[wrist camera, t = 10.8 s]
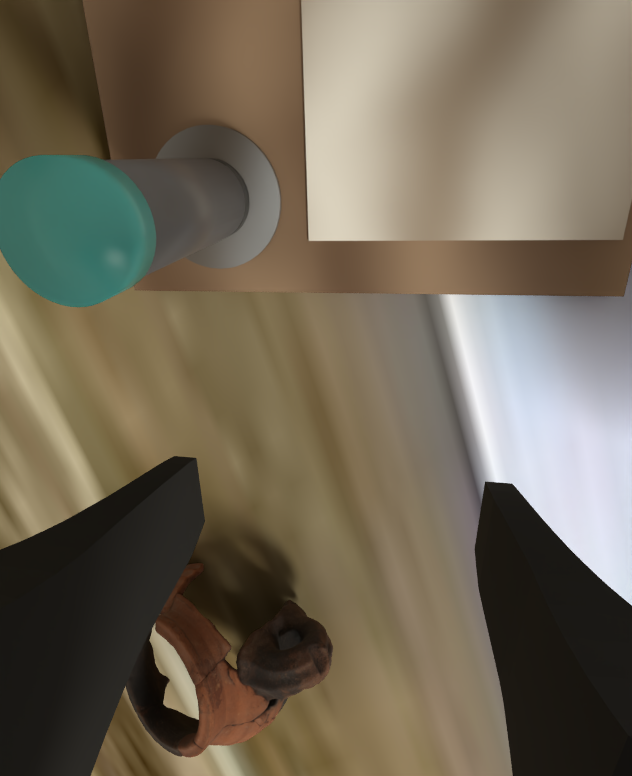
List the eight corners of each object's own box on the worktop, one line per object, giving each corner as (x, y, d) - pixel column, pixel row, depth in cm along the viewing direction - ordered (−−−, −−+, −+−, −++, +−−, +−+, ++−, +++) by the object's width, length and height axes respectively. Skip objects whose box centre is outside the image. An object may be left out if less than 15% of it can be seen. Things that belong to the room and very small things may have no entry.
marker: (248, 153, 18) (114, 152, 9) (255, 241, 19) (141, 308, 11) (168, 156, 18) (-28, 156, 10) (180, 241, 19) (15, 306, 11)
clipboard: (733, -240, 13) (768, -281, 12) (613, 289, 19) (628, 299, 18) (71, -151, 16) (43, -177, 15) (145, 284, 22) (130, 292, 21)
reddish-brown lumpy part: (250, 685, 33) (143, 777, 27) (202, 549, 34) (89, 605, 28) (396, 680, 26) (301, 804, 20) (329, 509, 27) (219, 572, 21)
